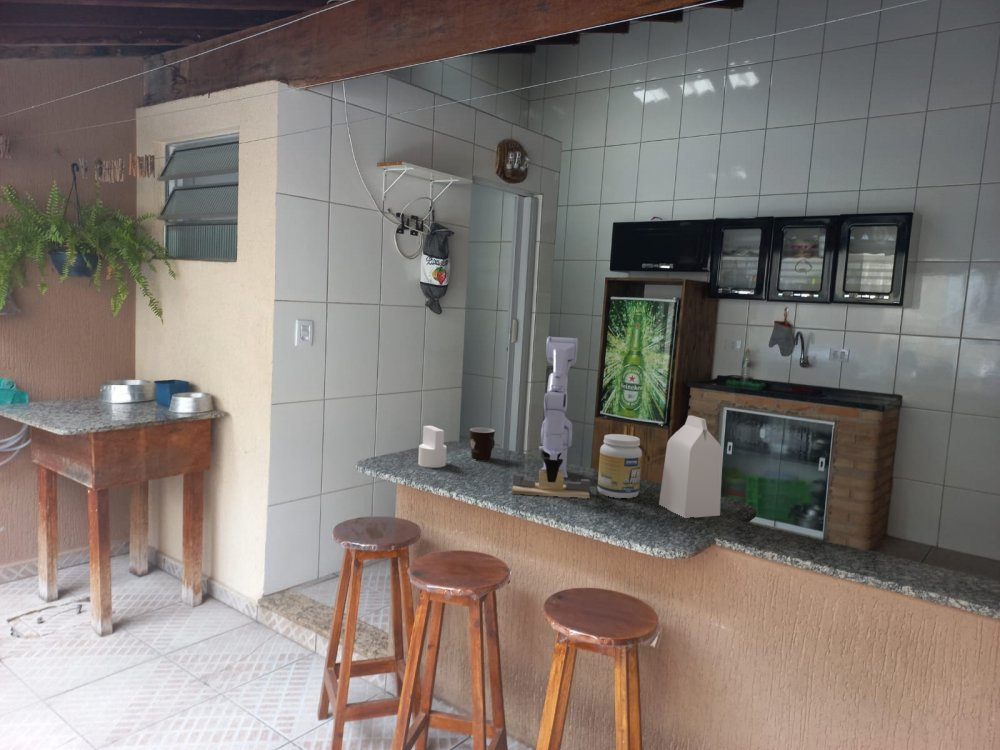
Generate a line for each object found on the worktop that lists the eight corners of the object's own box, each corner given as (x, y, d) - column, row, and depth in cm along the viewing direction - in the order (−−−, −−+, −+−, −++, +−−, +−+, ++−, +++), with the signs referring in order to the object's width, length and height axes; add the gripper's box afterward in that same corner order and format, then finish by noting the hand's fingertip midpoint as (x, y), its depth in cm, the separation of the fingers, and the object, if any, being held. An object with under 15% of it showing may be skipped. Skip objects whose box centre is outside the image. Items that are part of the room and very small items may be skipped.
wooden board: (513, 484, 208) (513, 481, 208) (586, 488, 208) (586, 485, 207) (512, 494, 198) (512, 490, 198) (589, 498, 198) (589, 495, 198)
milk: (658, 504, 195) (666, 413, 192) (693, 502, 199) (700, 413, 196) (684, 518, 184) (692, 422, 181) (719, 515, 188) (728, 421, 185)
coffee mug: (467, 455, 243) (469, 427, 242) (492, 455, 244) (493, 427, 243) (469, 463, 231) (471, 434, 230) (495, 464, 232) (497, 434, 231)
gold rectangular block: (538, 485, 205) (539, 469, 204) (562, 486, 205) (563, 470, 204) (538, 489, 201) (539, 472, 200) (562, 490, 201) (563, 473, 200)
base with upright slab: (450, 465, 227) (452, 429, 225) (426, 468, 222) (428, 431, 220) (437, 459, 234) (438, 424, 233) (413, 462, 229) (414, 426, 228)
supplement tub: (629, 502, 196) (633, 443, 194) (590, 494, 202) (594, 437, 200) (645, 493, 206) (649, 437, 204) (607, 485, 213) (610, 431, 211)
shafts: (512, 482, 206) (513, 473, 206) (587, 487, 206) (588, 477, 205) (512, 487, 202) (513, 476, 202) (589, 491, 201) (589, 481, 201)
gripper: (539, 427, 208) (536, 471, 210) (540, 436, 194) (537, 484, 195) (563, 428, 208) (560, 472, 210) (565, 438, 194) (562, 485, 195)
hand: (551, 478), depth 203 cm, fingers open, 7 cm apart
